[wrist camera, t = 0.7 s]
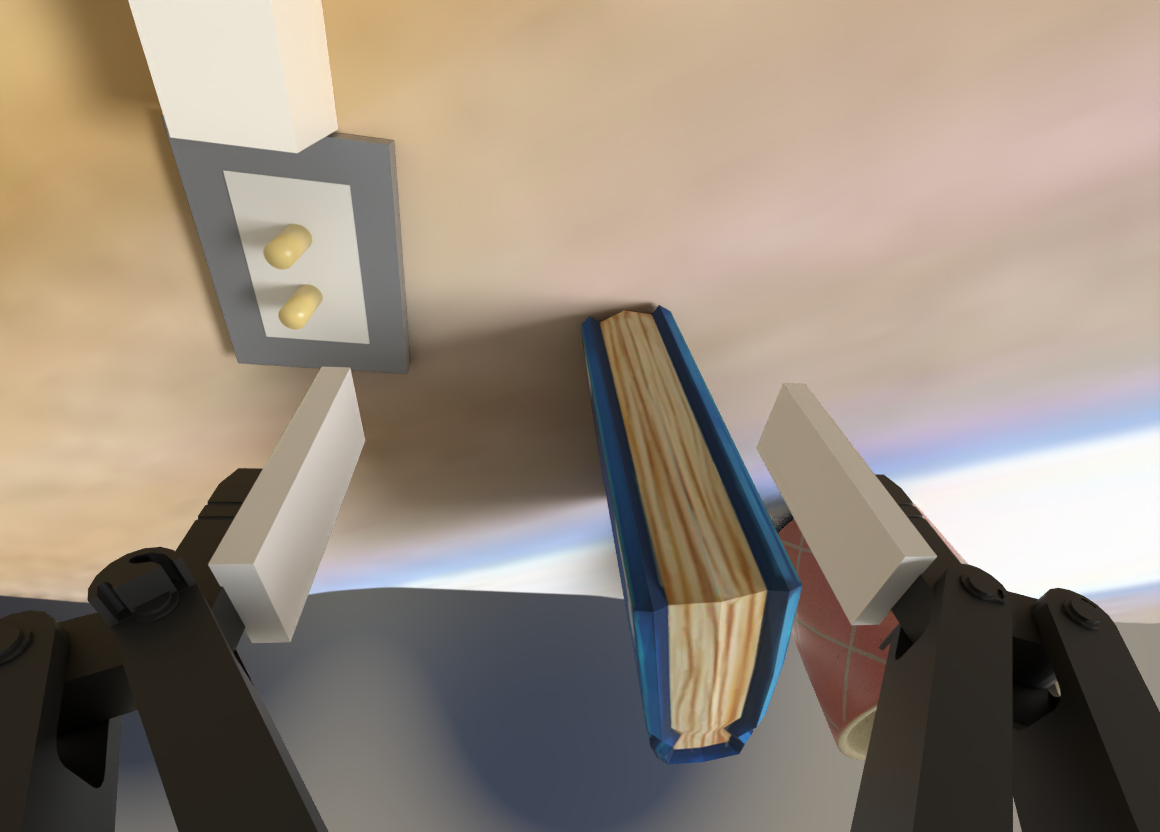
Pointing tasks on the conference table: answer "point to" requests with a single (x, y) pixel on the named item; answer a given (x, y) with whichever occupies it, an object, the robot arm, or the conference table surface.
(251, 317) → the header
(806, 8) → the conference table surface
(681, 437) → the book
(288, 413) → the conference table surface
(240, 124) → the block
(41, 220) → the conference table surface
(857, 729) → the planter
